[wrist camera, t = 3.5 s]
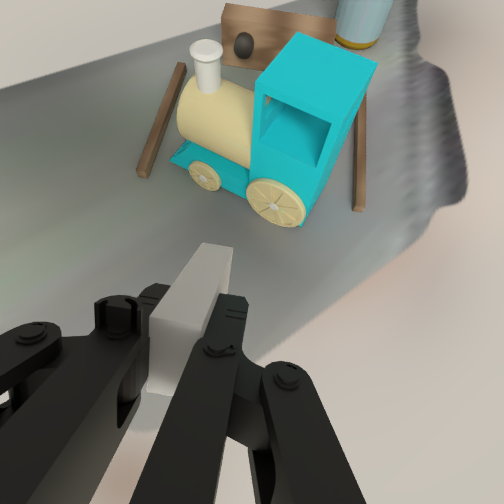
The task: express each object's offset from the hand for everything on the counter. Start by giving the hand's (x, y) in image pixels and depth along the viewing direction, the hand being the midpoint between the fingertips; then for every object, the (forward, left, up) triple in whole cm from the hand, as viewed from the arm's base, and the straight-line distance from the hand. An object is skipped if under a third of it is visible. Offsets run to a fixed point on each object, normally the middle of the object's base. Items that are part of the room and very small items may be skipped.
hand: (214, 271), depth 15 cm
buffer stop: (0, +37, -15) cm, 40 cm away
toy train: (-1, +17, -15) cm, 23 cm away
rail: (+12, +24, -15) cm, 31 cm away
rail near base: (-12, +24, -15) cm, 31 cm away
